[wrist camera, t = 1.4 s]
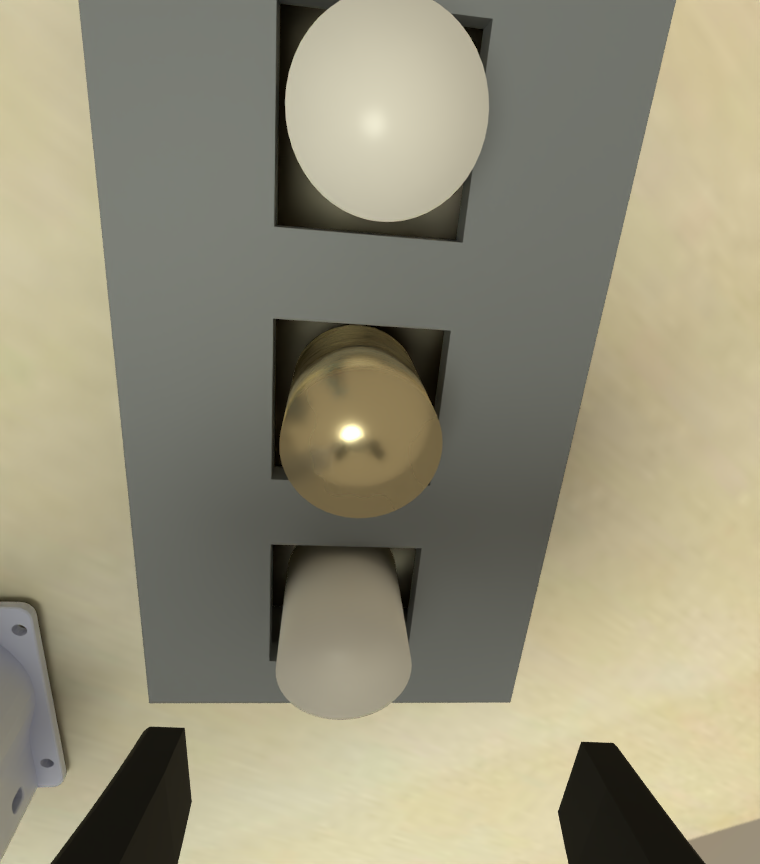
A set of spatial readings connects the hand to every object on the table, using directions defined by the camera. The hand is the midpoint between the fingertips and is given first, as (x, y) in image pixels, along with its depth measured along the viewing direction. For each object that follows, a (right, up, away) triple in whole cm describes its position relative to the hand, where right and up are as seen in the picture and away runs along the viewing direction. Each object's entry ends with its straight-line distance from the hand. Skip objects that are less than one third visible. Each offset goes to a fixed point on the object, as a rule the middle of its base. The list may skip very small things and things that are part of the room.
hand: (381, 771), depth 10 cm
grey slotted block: (-1, +8, +8) cm, 11 cm away
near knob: (0, +14, +4) cm, 14 cm away
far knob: (-1, +2, +9) cm, 9 cm away
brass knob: (-1, +8, +6) cm, 10 cm away
